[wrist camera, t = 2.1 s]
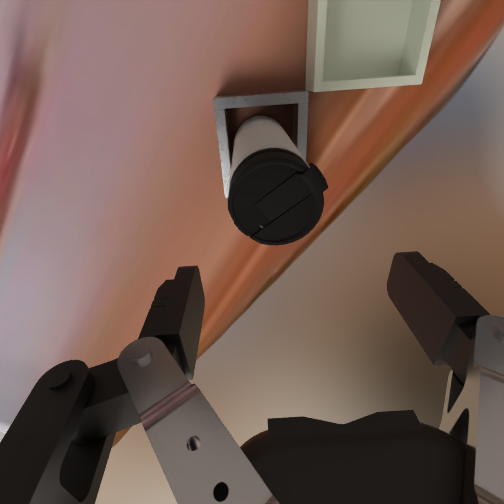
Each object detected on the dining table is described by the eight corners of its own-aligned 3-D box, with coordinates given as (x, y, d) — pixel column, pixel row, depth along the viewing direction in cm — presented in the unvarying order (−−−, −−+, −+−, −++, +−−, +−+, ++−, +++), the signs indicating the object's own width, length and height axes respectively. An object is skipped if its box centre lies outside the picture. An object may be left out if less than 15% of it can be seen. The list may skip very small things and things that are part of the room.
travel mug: (297, 144, 35) (349, 213, 18) (256, 178, 37) (267, 268, 20) (266, 100, 32) (292, 131, 15) (223, 139, 34) (204, 205, 17)
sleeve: (216, 95, 31) (213, 98, 28) (301, 89, 31) (308, 91, 28) (226, 186, 37) (225, 197, 34) (299, 181, 37) (304, 192, 34)
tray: (310, -60, 25) (322, -83, 21) (428, -69, 25) (462, -94, 21) (305, 89, 31) (313, 92, 28) (400, 82, 31) (421, 84, 28)
